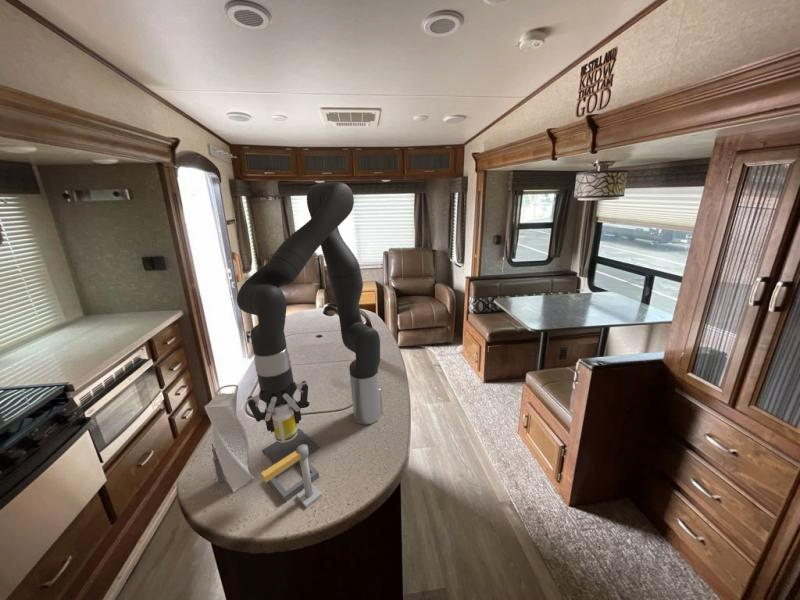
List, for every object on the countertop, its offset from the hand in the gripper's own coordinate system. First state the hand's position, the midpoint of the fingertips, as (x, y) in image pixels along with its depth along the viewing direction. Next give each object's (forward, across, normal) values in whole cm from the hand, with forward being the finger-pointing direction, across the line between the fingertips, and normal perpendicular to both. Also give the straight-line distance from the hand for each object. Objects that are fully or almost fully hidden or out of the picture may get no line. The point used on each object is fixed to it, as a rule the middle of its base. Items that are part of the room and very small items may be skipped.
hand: (284, 425), depth 78 cm
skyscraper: (+17, +13, -7) cm, 23 cm away
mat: (+17, -1, -11) cm, 20 cm away
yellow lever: (+4, +1, +9) cm, 10 cm away
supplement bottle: (+3, 0, 0) cm, 3 cm away
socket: (+17, -1, +2) cm, 17 cm away
